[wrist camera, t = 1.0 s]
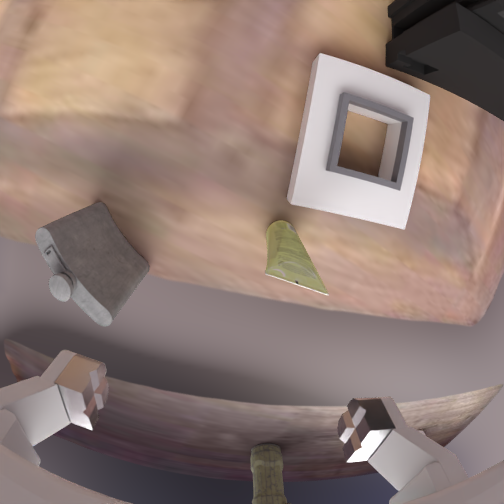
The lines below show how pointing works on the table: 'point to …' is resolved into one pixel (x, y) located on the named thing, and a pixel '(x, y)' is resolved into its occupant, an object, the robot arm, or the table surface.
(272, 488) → the thermos
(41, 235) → the hip flask
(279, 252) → the tube
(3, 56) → the table surface
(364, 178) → the white box with hole
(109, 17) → the table surface
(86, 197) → the table surface
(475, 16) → the game console
